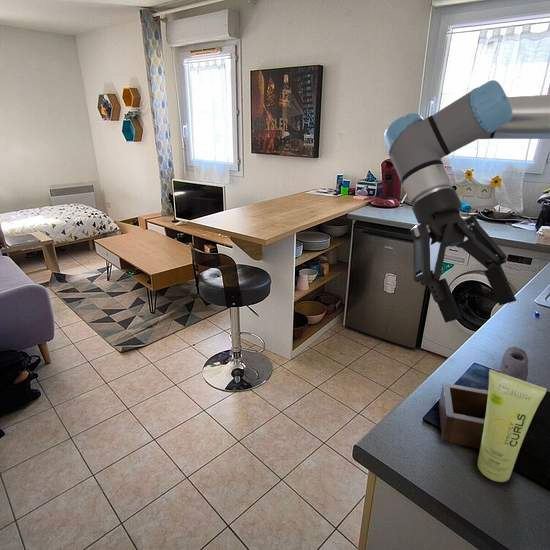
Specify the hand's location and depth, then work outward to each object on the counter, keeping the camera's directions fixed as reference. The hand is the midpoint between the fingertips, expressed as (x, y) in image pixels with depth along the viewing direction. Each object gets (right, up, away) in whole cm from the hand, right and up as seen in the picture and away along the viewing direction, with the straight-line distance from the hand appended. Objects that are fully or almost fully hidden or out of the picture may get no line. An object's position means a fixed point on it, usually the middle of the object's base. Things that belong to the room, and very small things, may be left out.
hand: (482, 311), depth 59 cm
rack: (+4, -24, +12) cm, 27 cm away
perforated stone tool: (+19, -20, +22) cm, 35 cm away
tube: (+4, -28, +3) cm, 28 cm away
